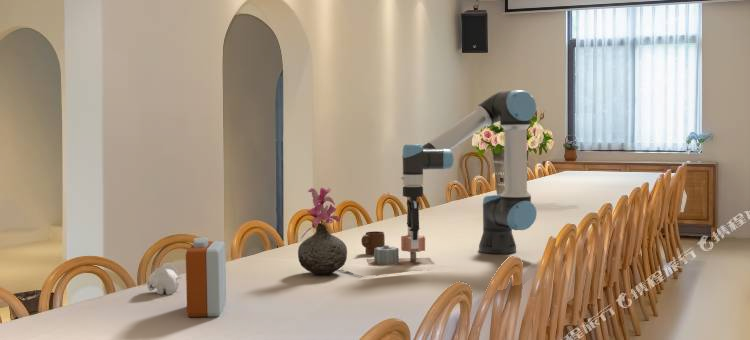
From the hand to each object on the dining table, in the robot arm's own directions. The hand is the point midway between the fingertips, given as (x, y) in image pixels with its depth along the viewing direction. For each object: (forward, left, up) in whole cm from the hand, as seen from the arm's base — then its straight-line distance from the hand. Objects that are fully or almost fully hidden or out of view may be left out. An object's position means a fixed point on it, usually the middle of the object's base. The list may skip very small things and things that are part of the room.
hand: (413, 246), depth 294 cm
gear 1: (+10, 0, -5) cm, 11 cm away
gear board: (+5, 0, -7) cm, 8 cm away
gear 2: (0, 0, -1) cm, 1 cm away
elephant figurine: (+84, +40, -7) cm, 93 cm away
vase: (+34, +16, -7) cm, 38 cm away
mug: (+14, -19, -7) cm, 25 cm away
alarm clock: (+67, +66, -7) cm, 94 cm away
